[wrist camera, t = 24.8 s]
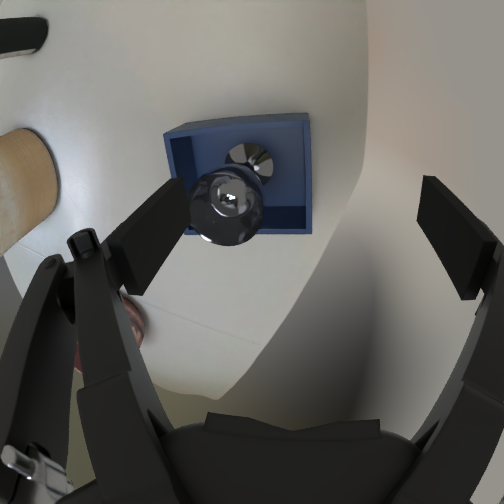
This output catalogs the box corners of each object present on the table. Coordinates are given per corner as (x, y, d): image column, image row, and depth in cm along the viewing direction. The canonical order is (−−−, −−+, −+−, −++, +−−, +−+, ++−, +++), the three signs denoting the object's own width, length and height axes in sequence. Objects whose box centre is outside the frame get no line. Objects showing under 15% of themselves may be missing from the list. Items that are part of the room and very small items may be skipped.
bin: (308, 112, 36) (309, 120, 29) (311, 208, 44) (312, 234, 37) (185, 122, 39) (162, 133, 32) (201, 210, 47) (184, 235, 40)
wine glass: (274, 138, 38) (259, 171, 25) (278, 190, 42) (266, 246, 30) (218, 142, 39) (177, 177, 27) (225, 192, 43) (193, 246, 31)
